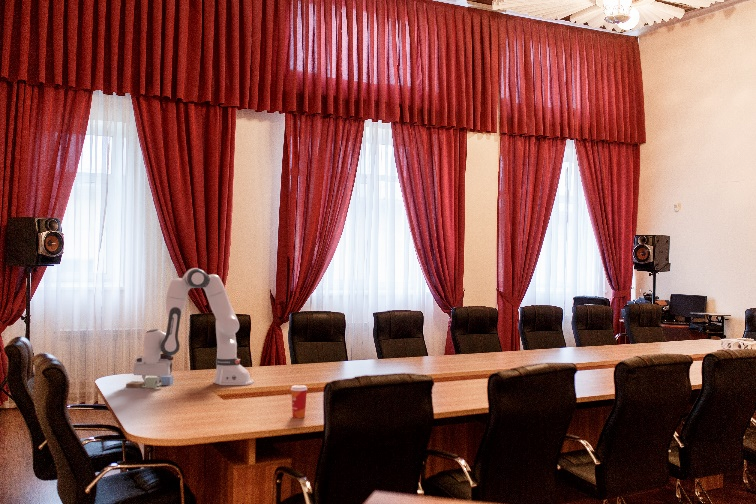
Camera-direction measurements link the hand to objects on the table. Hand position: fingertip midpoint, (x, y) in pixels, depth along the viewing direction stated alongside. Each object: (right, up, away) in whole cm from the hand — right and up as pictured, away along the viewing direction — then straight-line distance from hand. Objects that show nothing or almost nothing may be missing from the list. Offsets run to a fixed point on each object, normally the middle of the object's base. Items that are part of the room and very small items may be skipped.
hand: (151, 383), depth 385 cm
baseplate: (-9, -2, +1) cm, 9 cm away
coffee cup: (+1, -2, +21) cm, 21 cm away
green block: (0, -2, 0) cm, 2 cm away
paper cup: (+89, -3, -66) cm, 111 cm away
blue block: (+7, -2, +7) cm, 10 cm away
